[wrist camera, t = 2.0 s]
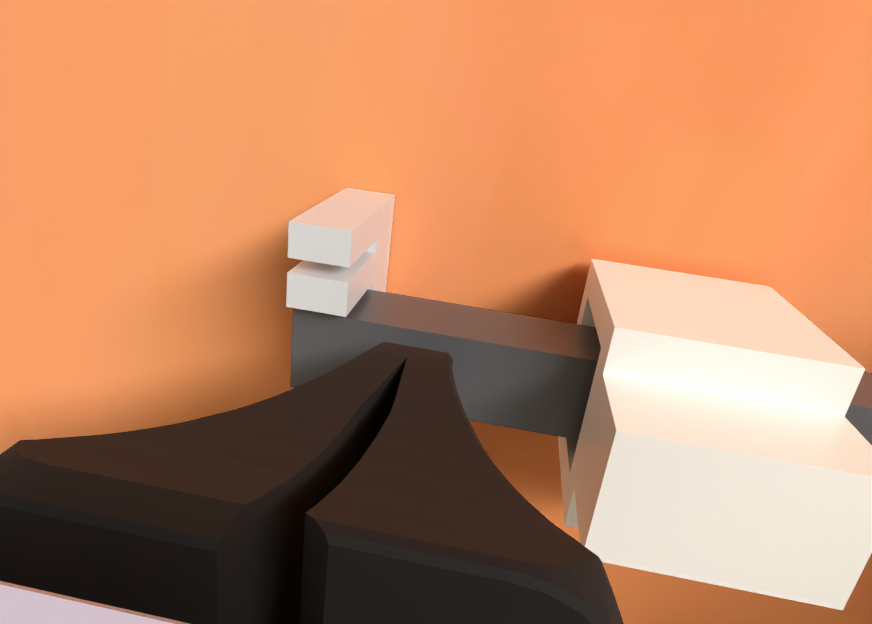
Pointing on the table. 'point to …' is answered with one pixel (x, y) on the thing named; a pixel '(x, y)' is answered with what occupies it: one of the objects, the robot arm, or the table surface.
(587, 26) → the table surface
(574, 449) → the sleeve
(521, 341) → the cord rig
